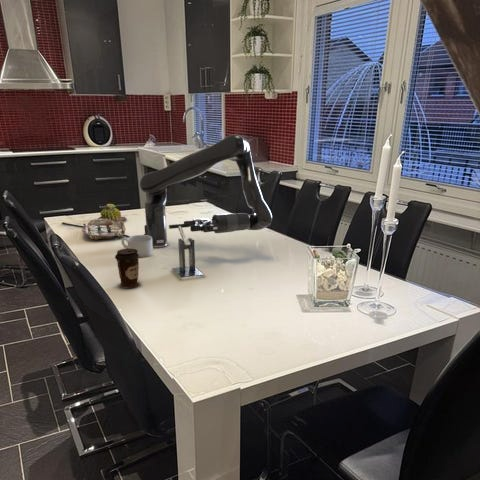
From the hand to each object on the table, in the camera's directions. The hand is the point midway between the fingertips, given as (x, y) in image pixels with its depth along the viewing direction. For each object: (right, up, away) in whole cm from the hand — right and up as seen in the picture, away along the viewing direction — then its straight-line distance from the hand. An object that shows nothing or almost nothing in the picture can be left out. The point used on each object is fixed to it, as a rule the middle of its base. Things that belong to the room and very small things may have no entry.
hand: (187, 226), depth 184 cm
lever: (-1, -5, -3) cm, 6 cm away
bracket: (0, -19, -2) cm, 19 cm away
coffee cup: (-19, -25, -14) cm, 34 cm away
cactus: (-52, +20, +84) cm, 101 cm away
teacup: (-24, -9, +21) cm, 33 cm away
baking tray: (-48, +6, +53) cm, 72 cm away
